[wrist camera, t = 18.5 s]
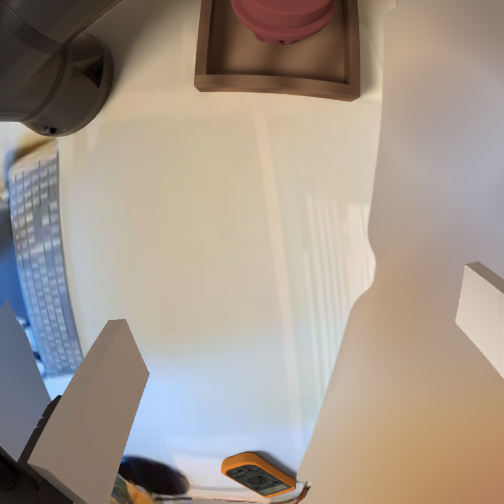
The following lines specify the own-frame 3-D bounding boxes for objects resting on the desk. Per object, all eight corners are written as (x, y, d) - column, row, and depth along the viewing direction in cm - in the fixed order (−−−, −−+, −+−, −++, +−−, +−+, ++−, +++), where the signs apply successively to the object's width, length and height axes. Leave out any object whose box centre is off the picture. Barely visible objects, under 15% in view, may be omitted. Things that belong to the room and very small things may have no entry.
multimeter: (250, 447, 50) (250, 460, 47) (297, 478, 55) (298, 490, 52) (217, 458, 52) (215, 471, 49) (266, 488, 56) (266, 499, 53)
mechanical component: (242, 65, 30) (230, -1, 27) (327, 58, 30) (311, -7, 27) (235, 23, 18) (220, -57, 16) (358, 17, 18) (330, -61, 15)
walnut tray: (199, 91, 32) (193, 85, 29) (211, -24, 27) (207, -38, 23) (350, 101, 32) (360, 96, 29) (347, -14, 27) (354, -27, 23)
